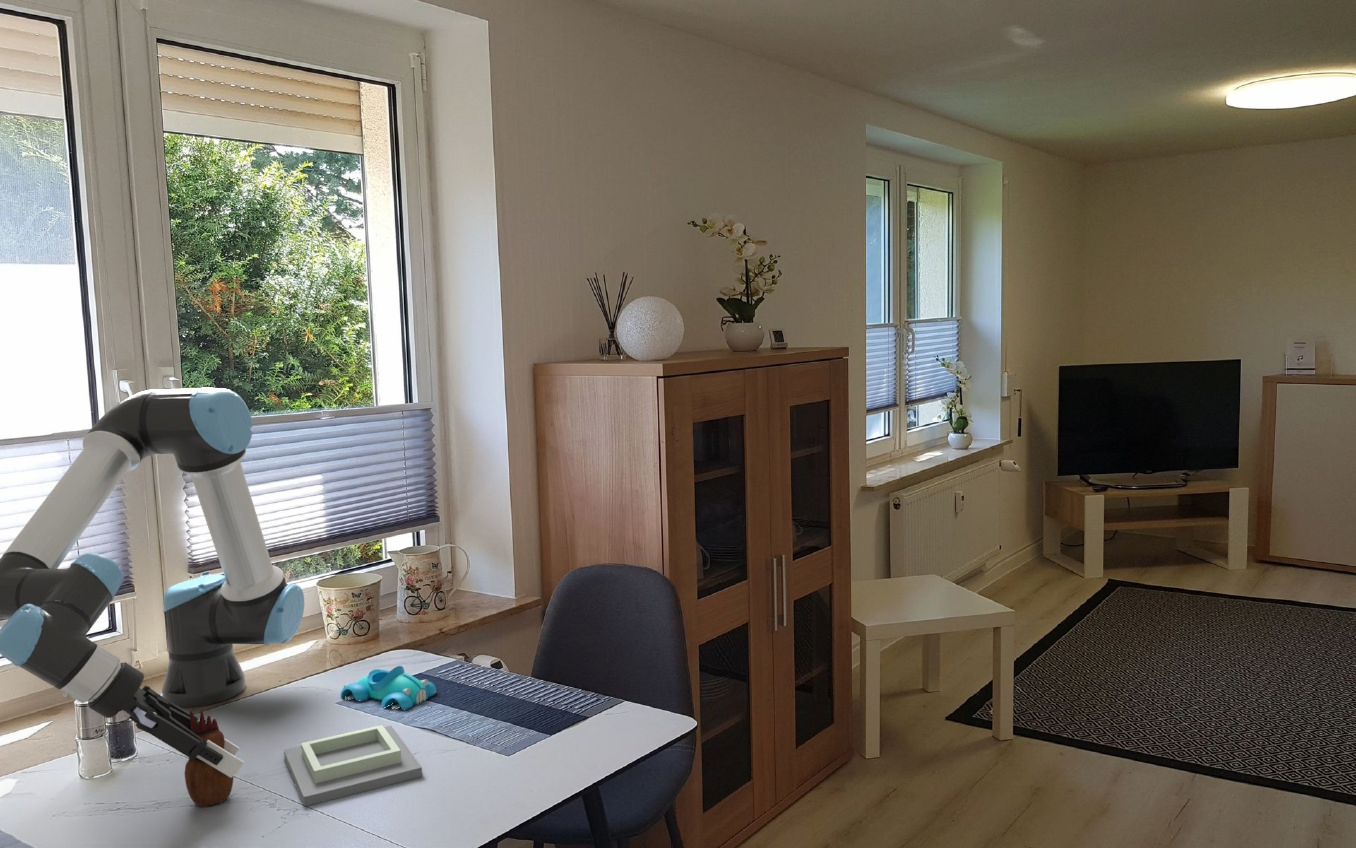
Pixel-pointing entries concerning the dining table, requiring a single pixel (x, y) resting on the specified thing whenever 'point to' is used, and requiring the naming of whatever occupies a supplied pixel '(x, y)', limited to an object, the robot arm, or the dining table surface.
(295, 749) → the jig plate
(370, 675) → the toy car
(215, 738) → the wooden figurine
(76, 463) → the robot arm
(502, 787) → the dining table surface
